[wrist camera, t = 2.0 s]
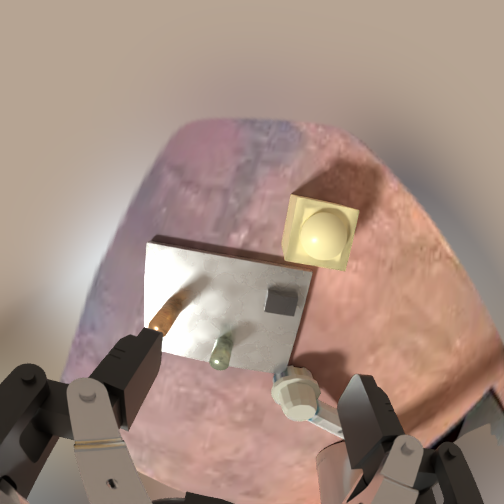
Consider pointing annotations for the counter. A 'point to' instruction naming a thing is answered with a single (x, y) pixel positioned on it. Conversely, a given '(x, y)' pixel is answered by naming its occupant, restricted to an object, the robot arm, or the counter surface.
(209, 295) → the plate
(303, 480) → the counter surface
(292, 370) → the white handheld device
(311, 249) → the cube with dome bump
